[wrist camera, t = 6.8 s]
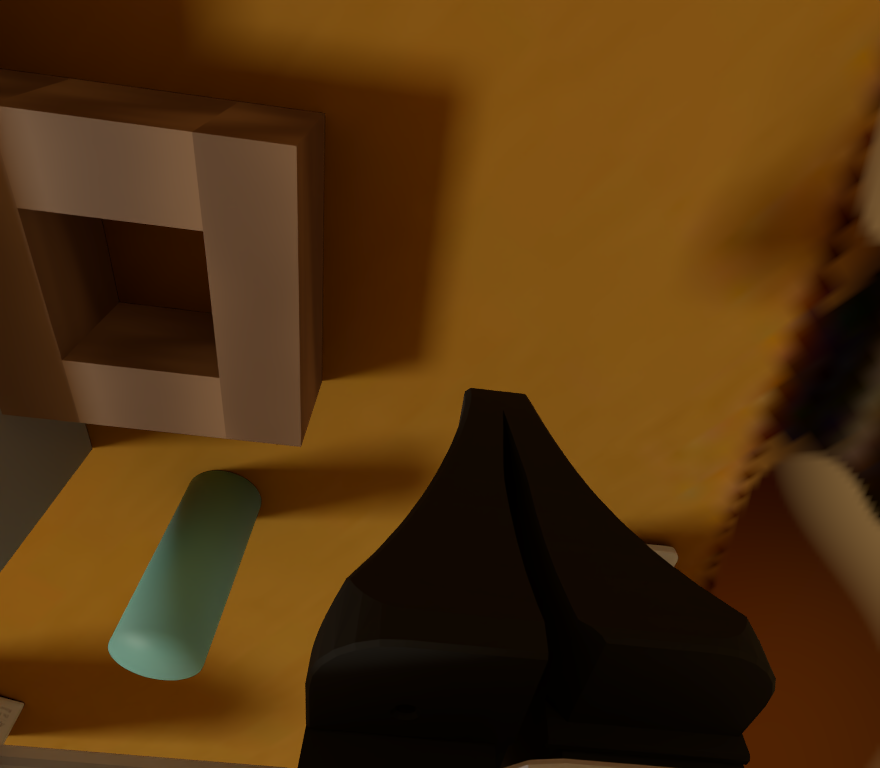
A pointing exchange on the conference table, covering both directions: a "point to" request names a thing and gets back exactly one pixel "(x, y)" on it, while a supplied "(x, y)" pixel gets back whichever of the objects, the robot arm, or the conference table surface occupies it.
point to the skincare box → (8, 716)
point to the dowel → (188, 580)
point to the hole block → (171, 205)
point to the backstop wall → (34, 472)
